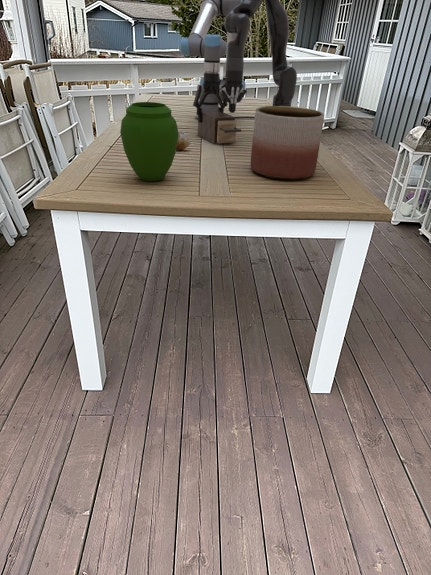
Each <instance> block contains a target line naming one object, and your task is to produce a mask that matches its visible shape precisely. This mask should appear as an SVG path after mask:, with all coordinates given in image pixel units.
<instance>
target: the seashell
mask: <svg viewBox="0 0 431 575" xmlns="http://www.w3.org/2000/svg"><path fill="white" fill-rule="evenodd" d="M178 133H179V134H178V141H177V148H176V151H177V150H178V151H181V150H185V149H187V148H188V147H189V146H190V145H191V140H190V138H189V136H187V135H186V133H185V132H184V131H183V130H180V131H178Z"/></svg>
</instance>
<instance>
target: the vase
mask: <svg viewBox="0 0 431 575" xmlns="http://www.w3.org/2000/svg"><path fill="white" fill-rule="evenodd" d="M125 113H126V114H125V115H124V117H122V119H121V122H120V123H121V124H120V130H119V133H120V138H121V142H122V147H123V150H124V154H125V155H126V158H127V160H128V163H129V165H130V167H131V168H132V170H133V172H134V173H135V175H136V176H137V177H138V178H139V179H141V180H143V181H145V182H159V181H161V180H163V179H164V178H165V176H166V175H167V174H168V173H169V170H170V169H171V167H172V165H173V162H174V159H175V157H176V156H175V155H176V153H177V149H176V148H177V141H178V134H179V133H178V132H179V129H178V122H177V120H176V119H175V117H174V116H173V115H172V109H171V108H170V107H169V106H167V105H166V104H164V103H162V102H155V101H138V102H132V103H131V104H130V105H128V107H127V108H125Z"/></svg>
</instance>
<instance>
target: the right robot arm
mask: <svg viewBox="0 0 431 575" xmlns="http://www.w3.org/2000/svg"><path fill="white" fill-rule="evenodd" d="M263 3H264V5H265V12H266V13H265V14H266V19H267V29H268V37H269V45H270V52H271V53H270V54H271V64H272V65H271V66H272V67H271V69H272V80H273V83H274V84H275V85H276V86H277V87H278V88H277V92H276V93H275V94H274V95H273V97H272V105H271V106H290V107H292V102H293V99H294V96H295V93H296V88H297V81H298V80H297V79H298V73H297V69H296V68H294V67H293V66H290V65H288V60H287V48H288V47H287V46H288V42H289V38H290V24H289V15H288V13H287V11H286V10H285V7H284V6H283V4H282V3H281V1H280V0H242V1H241V3H240V4H239V5H237V6H236V7H235V8H234V9H233V10H231V11H230V12H229V14H228V15H227V17H226V19H225V18H224V29H225V31H226V33H227V32H229V33H233V34H237V36H236V39H235V40H232V41H229V42H228V49H227V61H226V60H225V73H226V75H225V85H224V88H223V89H222V90H221V89H220V93H221V95H222V97H223V98H224V100H225V101H226V102H227V104H228V111H229V113H230V114H234V113H235V112H236V108H237V102H239V103H241V102H242V100H243V98H244V96H245V95H246V94H247V92H248V91H247V89H246V88H245V89H244V88H243V85H242V80H243V81H244V66H245V60H244V59H245V58H244V57H245V56H244V55H245V46H246V42H247V38H248V35H249V33H250V30H251V29H250V28H251V19H252V18H253V17H254V15H255V14H256V12H257V11H258V10H259V8H260V7H261V5H262V4H263ZM226 91H227V93H228V96H227V95H226ZM239 92H240V94H239ZM238 94H239V95H238ZM241 99H242V100H241ZM240 101H241V102H240Z"/></svg>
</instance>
